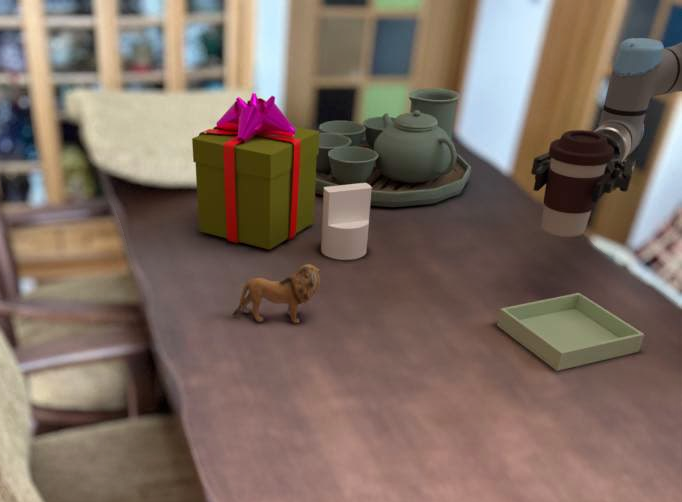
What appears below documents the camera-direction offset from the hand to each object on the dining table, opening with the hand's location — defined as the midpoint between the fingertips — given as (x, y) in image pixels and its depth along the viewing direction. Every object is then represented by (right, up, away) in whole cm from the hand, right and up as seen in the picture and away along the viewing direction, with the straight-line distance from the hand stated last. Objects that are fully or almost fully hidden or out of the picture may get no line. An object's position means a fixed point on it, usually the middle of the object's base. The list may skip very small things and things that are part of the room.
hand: (566, 187), depth 132 cm
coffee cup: (+2, -4, +9) cm, 10 cm away
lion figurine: (-46, -19, +8) cm, 51 cm away
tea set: (-22, +28, +61) cm, 71 cm away
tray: (+1, -23, +3) cm, 24 cm away
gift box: (-51, +7, +37) cm, 63 cm away
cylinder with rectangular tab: (-33, 0, +30) cm, 45 cm away
